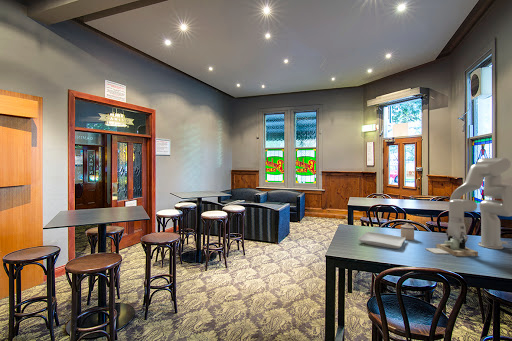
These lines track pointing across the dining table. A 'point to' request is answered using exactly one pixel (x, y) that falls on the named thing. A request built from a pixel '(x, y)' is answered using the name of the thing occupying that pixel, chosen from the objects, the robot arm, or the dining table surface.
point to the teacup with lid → (407, 231)
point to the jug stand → (457, 252)
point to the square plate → (382, 240)
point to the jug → (453, 243)
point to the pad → (436, 250)
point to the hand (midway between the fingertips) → (456, 246)
